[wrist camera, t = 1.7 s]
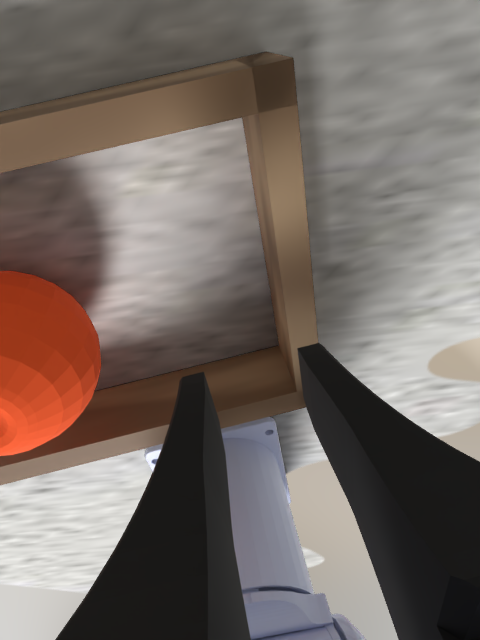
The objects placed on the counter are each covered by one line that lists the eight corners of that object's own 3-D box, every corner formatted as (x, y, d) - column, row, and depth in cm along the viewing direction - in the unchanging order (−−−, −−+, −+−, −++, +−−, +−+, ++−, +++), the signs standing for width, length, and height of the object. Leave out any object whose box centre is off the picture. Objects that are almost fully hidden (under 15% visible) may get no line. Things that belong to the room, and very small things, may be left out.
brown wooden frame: (302, 356, 23) (323, 402, 20) (-7, 434, 23) (-30, 492, 20) (266, 51, 15) (293, 57, 12) (-231, 164, 14) (-328, 198, 11)
